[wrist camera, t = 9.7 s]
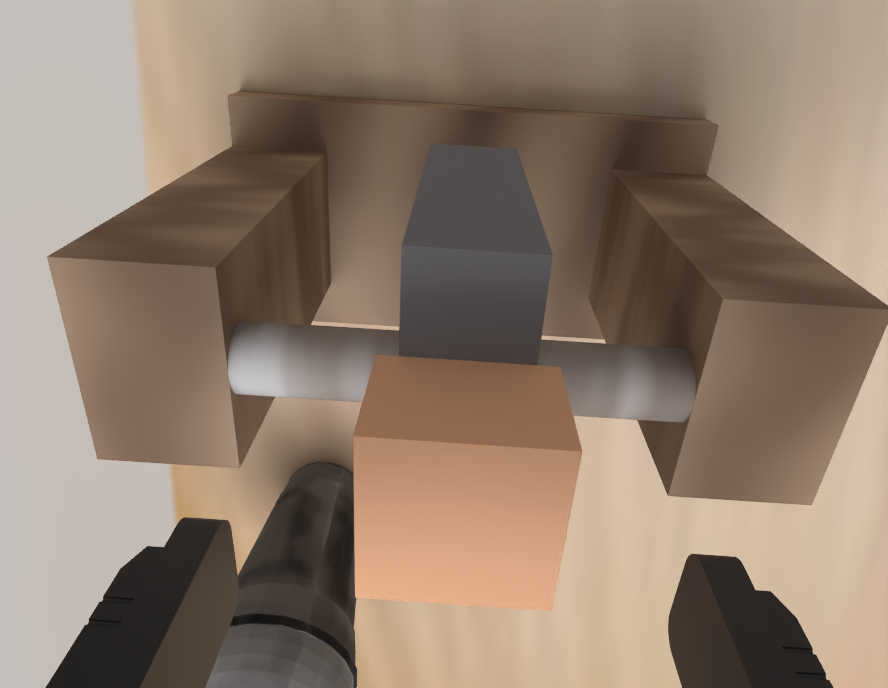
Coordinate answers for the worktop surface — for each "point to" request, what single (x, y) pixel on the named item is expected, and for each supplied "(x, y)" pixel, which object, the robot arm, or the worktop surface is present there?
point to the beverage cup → (297, 592)
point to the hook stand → (379, 280)
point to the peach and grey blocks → (467, 403)
